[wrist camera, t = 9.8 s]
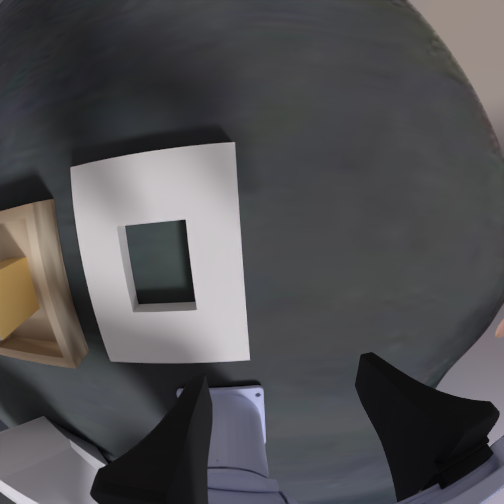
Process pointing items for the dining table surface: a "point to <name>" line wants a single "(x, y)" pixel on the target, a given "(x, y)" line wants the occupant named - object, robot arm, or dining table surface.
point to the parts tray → (42, 289)
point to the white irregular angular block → (47, 464)
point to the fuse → (15, 295)
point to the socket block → (200, 249)
